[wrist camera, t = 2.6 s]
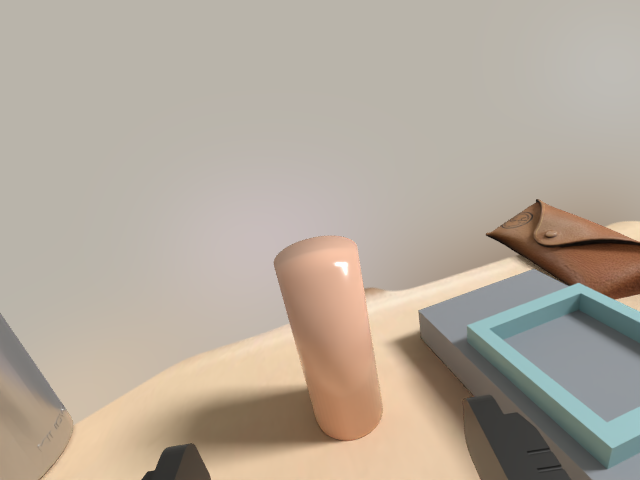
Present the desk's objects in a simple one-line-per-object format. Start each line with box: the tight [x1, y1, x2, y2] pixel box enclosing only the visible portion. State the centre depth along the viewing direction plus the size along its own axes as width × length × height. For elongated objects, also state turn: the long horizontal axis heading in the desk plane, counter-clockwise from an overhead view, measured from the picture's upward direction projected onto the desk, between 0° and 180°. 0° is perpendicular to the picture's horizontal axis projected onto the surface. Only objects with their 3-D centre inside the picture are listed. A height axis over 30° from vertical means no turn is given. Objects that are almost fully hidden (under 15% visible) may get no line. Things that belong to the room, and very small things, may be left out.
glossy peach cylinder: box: [274, 236, 383, 440], centre depth 23 cm, size 5×5×13 cm
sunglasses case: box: [486, 199, 640, 300], centre depth 38 cm, size 18×7×7 cm
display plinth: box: [418, 269, 640, 480], centre depth 22 cm, size 12×20×4 cm, turn 17°
